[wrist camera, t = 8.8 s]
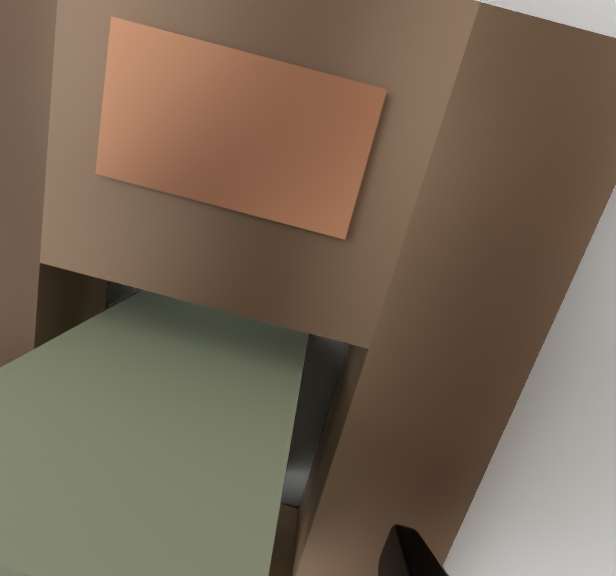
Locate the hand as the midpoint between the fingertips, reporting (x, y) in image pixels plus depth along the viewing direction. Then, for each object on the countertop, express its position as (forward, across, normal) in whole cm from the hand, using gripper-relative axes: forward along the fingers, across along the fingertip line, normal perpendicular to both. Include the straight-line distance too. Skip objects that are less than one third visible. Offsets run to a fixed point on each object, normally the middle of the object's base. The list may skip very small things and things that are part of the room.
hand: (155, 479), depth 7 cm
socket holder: (+4, 0, 0) cm, 4 cm away
